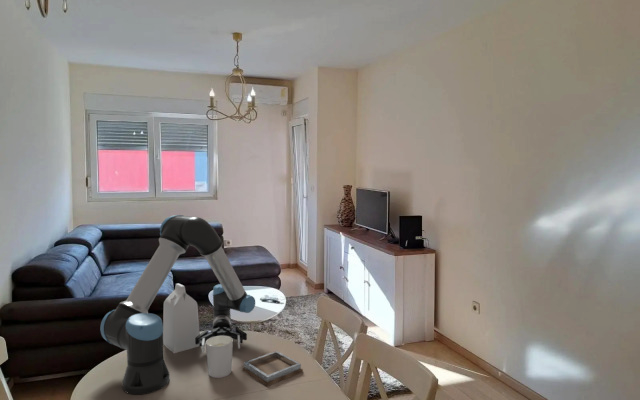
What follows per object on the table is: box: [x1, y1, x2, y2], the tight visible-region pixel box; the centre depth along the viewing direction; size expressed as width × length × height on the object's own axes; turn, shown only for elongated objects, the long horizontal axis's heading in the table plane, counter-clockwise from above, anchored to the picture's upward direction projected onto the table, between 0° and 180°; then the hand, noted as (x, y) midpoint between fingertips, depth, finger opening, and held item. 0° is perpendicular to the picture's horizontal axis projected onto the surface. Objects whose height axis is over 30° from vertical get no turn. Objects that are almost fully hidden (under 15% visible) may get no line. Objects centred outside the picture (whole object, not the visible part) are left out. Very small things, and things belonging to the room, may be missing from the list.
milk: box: [162, 283, 201, 354], centre depth 179 cm, size 12×12×26 cm
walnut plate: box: [241, 357, 304, 387], centre depth 156 cm, size 16×16×1 cm
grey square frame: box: [243, 350, 302, 383], centre depth 156 cm, size 15×15×2 cm
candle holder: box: [205, 336, 234, 379], centre depth 155 cm, size 10×10×12 cm
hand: (221, 346), depth 162 cm, fingers open, 13 cm apart
